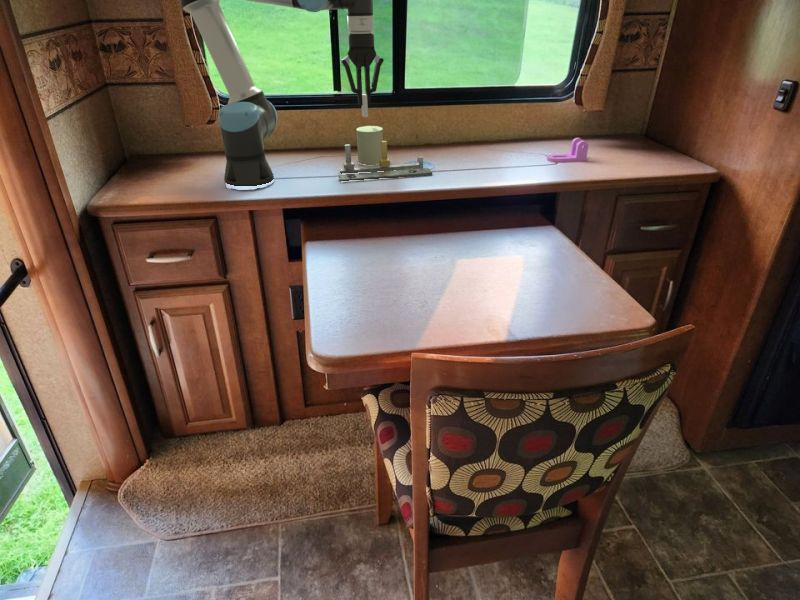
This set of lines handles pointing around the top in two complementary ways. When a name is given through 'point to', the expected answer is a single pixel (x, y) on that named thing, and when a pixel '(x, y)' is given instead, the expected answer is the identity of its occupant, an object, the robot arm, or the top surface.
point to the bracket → (572, 153)
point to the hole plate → (387, 174)
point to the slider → (384, 155)
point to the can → (369, 144)
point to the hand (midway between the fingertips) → (365, 116)
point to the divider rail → (350, 166)
